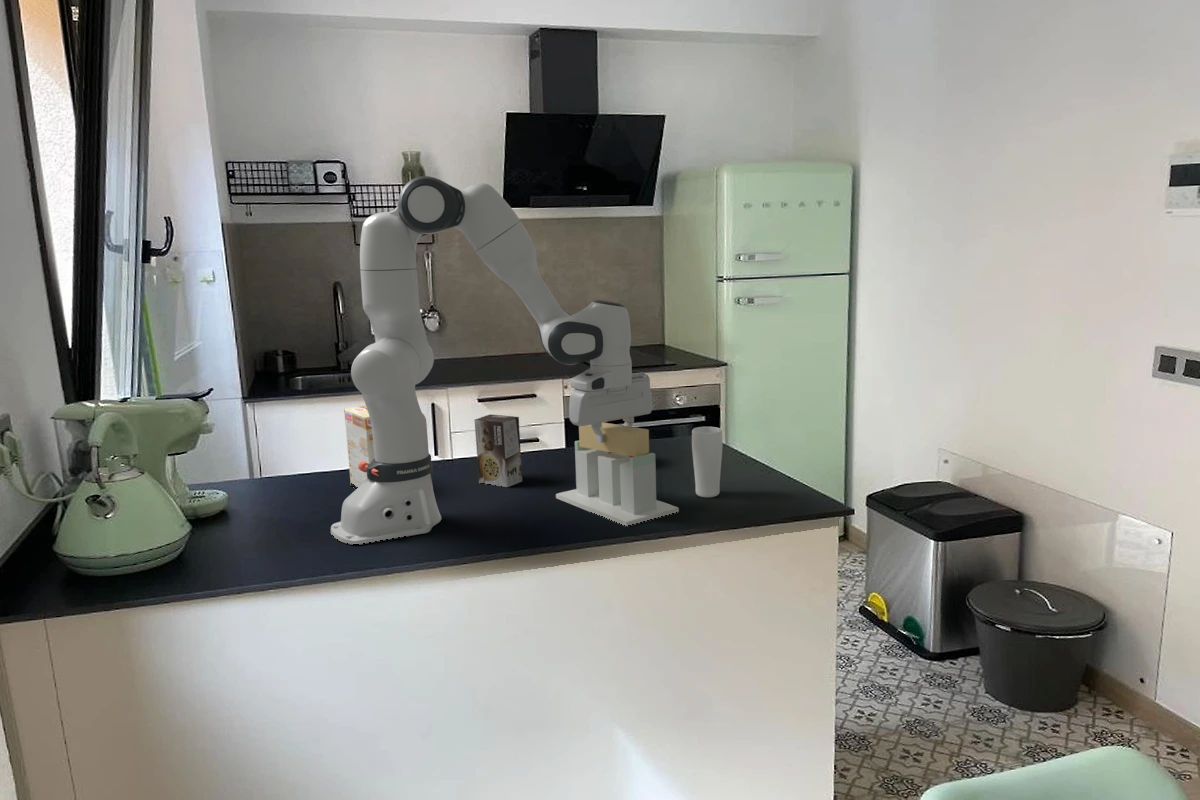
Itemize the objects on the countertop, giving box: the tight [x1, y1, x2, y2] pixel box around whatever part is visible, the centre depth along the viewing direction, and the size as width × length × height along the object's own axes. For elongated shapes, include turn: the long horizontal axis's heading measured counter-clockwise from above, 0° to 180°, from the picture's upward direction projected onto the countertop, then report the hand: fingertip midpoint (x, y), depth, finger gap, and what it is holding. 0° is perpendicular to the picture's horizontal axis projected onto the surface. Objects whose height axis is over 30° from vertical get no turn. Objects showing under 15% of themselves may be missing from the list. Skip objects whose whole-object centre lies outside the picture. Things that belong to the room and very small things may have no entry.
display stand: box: [555, 440, 680, 527], centre depth 188 cm, size 14×26×13 cm, turn 36°
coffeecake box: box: [343, 405, 375, 487], centre depth 205 cm, size 15×7×20 cm, turn 34°
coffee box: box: [473, 413, 523, 488], centre depth 208 cm, size 9×6×16 cm
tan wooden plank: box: [578, 422, 650, 457], centre depth 186 cm, size 4×16×5 cm, turn 48°
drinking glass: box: [691, 426, 723, 498], centre depth 193 cm, size 7×7×15 cm
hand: (613, 439), depth 186 cm, fingers closed on tan wooden plank, 5 cm apart
